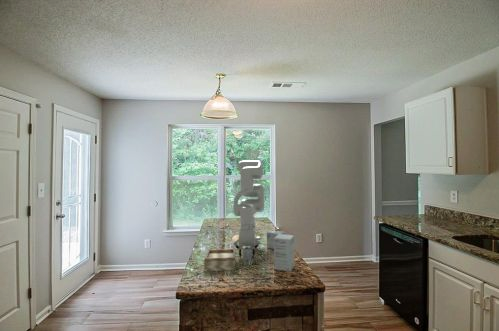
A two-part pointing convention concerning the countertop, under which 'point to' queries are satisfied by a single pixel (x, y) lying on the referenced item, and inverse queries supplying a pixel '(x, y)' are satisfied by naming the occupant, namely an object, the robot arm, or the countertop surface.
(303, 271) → the countertop surface
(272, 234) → the light bulb box
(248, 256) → the block
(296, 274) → the countertop surface
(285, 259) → the supplement box
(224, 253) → the tray
